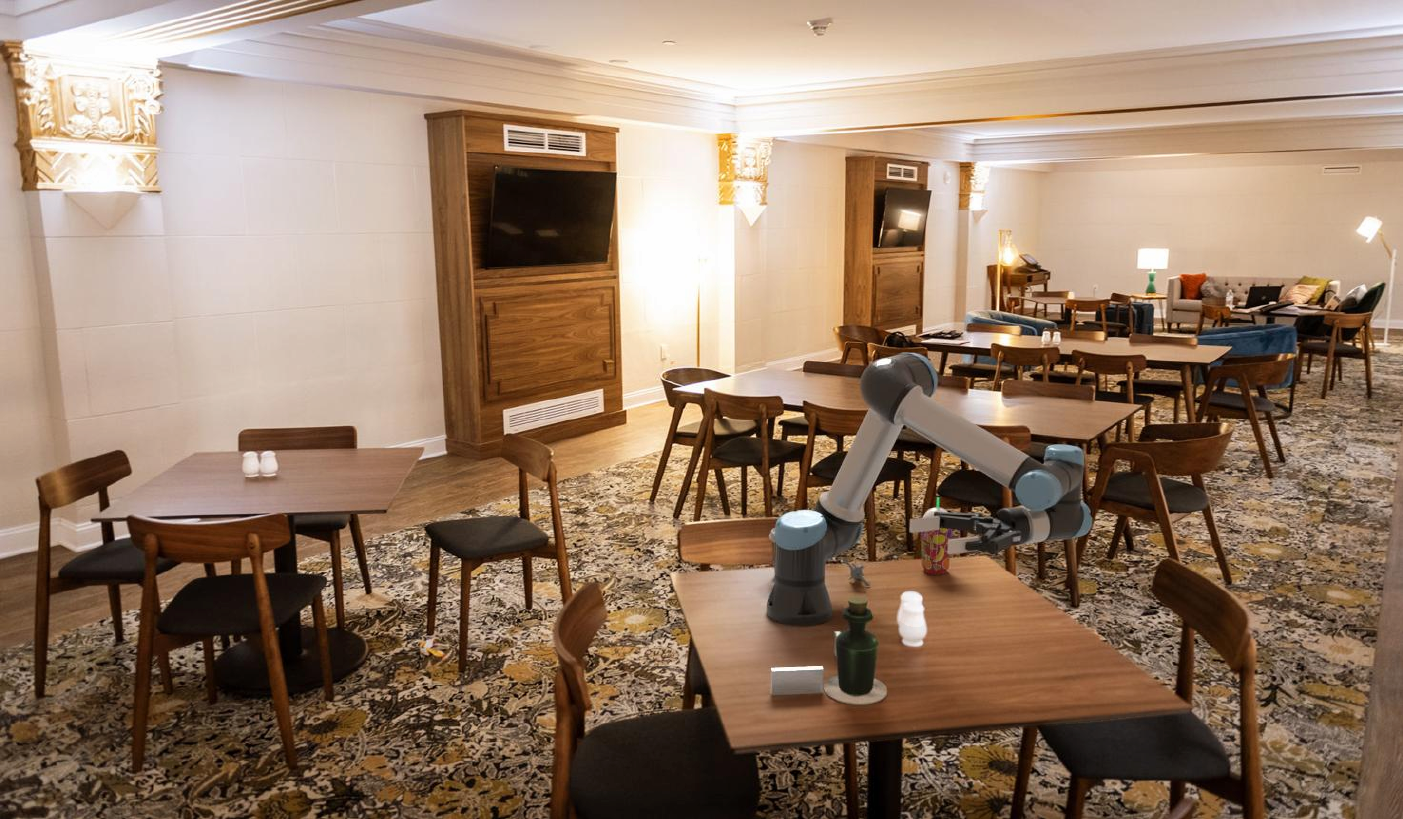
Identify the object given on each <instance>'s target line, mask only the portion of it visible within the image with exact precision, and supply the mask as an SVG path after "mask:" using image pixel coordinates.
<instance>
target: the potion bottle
mask: <svg viewBox="0 0 1403 819" xmlns="http://www.w3.org/2000/svg"><path fill="white" fill-rule="evenodd" d="M868 602H869V600H868V598H866V597H864V596H861V595H855V596H853V595H852V596H849V597H848V598H847V603H848V607H845V608H844V609H843V612H842V613H841V617H842V619H844V620H846V622H847V624H848V627H849V629H846V630H844V631H842V632H841V631H840V632H841V633H840V634H839V635H838V637H837V638H836V654H837V659H836V667H837V676H838V682H839V688H840V689H841V690H842V691H843V692H845V693H848V694H852V695H863V694H867V693H869V692H870V691H871V690H872V688H873V683H874V678H875V673H876V665H877V658H878V657H877V656H878V650H879V649H878V648H879V642H878V640H877V637H876V635H874V633H871V632H870V631H868V630H866V627H867V623H868V622H871V621H872V620H873V618H874V616H873V613H872V610H871V609H870V608H868V607H867V606H868Z"/></svg>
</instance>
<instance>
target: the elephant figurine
mask: <svg viewBox="0 0 1403 819" xmlns="http://www.w3.org/2000/svg"><path fill="white" fill-rule="evenodd" d="M848 559H849V557H847V558H845V557H844V556H842V557H841V560H842V562H843V563H844V564H846V565H847V567H848V568H849V569H850V571H849V574H850V577H849V579H848V581H849V580H850V581H851V580H852V579H854V580H859V579H860V580H861V582H863V584H864V585H865V586H866V587H867V586H871V587H872V585H871V584H870V583H871V581H868V580H866V579H865V578H864V576H865V575H864V572H863V570H864V569H865V568H866V567H867V565H865V566H864V565H863V563H864V562H861V563H860V564H859V565H856V564H855V563H851V564H850V562H849V560H848Z"/></svg>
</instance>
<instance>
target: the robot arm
mask: <svg viewBox="0 0 1403 819" xmlns="http://www.w3.org/2000/svg"><path fill="white" fill-rule="evenodd" d="M938 382H939V378H938V373H937V371H936V368H935V366H934V364H933V363H932V362H931V361H930V359H928V358H927V357H925V356H924V355H922V354H920V353H916V352H901V353H898V354H896V355H892V356H889V357H884V358H878V359H876V360H874V361H873V362H871V363H870V364H868V366H866V368H865V369H864V371H863V372H862V374H861V377H860V380H859V391H860V394H861V395H860V396H861V398H862V399H863V401H864V403H865V404H866V405H867V407H868V410H867V412H866V414H865V417H864V418H863V421H862V423H861V425H860V427H859V429H858V430H857V433H856V435H855V437H854V439H853V441H852V443H851V445H850V446H849V449H848V452H847V453H846V455H845V457H844V459H843V462H842V465H841V466H840V468H839V471H838V472H837V475H836V476H835V478H834V480H833V483H832V484H831V486H830V489H829V490H827V491H824V492H821V493H820V494H819V496H818V499H817V501H816V502H815V505H814V507H813V509H812V510H810V509H809V510H808V509H798V510H796V511H793V510H792V511H789V512H787V513H784V514H782V515H781V516H779V517H778V519H777V520H776V523H775V527H774V528H775V533H774V540H775V572H774V580H773V581H774V582H773V584H772V588H771V590H770V593H769V595H768V599H767V602H766V614H767V615H766V616H767V617H769V619H771V620H772V619H773V620H772V621H774V620H775V621H774V622H776V621H777V623H779V622H780V624H784V625H788V626H796V627H808V626H809V627H811V626H815V625H820V624H822V623H826V622H827V621H829V620H831V618H832V616H833V614H832V613H833V606H832V605H833V604H832V602H831V598H830V596H829V592H828V589H827V585H826V562H828V561H829V560H831V559H834V557H836V556H839V555H840V554H844V553H845V552H847V551H849V550H850V549H852V548H853V547H854V546H855V545H856V544H857V543H858V542H859V540H860V539H861V537H862V534H863V530H864V523H863V520H864V519H865V515H866V514H865V511H864V509H863V508H864V507H863V506H864V505H865V502H866V500H867V499H868V496H869V495H870V493H871V491H872V488H873V486H874V484H875V483H876V481H877V478H878V477H879V474H880V473H881V471H882V468H883V467H884V464H886V461H887V459H888V457H889V455H890V453H891V451H892V449H893V447H894V445H895V443H896V441H897V439H898V437H899V435H900V433H901V431H902V429H903V428H904V426H905V427H907V428H909V429H910V430H911V431H914V432H915V433H917V434H918V435H920V436H921V437H924V438H925V439H926V440H928V441H930V442H932V443H933V444H935V445H937V446H938V447H940V448H942V449H943V450H945V451H946V452H948V453H950V454H951V455H953V456H955V457H956V458H957V459H959V460H961V461H962V462H964V463H966V464H967V465H969V466H971V467H973V468H974V469H976V470H977V471H979V472H981V473H982V474H985V475H986V477H989V478H991V479H992V480H994V481H995V482H997V483H999V484H1001V485H1002V486H1004V487H1006V489H1008V490H1010V491H1011V492H1013V493H1015V496H1016V498H1017V500H1018V502H1019V503H1020V504H1021V506H1018V507H1004V508H1001V509H999V510H998V511H997V512H996V514H995V515H994V516H988V515H987V516H986V515H985V516H983V513H981V512H972V513H969V512H968V513H967V512H950V511H949V512H948V511H947V512H934V516H933V517H924V518H923V517H916V518H910V519H909V533H911V534H913V533H921V532H924V531H933V530H936V531H938V530H939V528H945V529H953V531H954V530H957V531H964V532H969V533H970V534H971V535H974V536H967V537H958V538H952V539H948V551H947V553H948V554H950V555H955V554H956V555H957V554H963V553H972V552H979V551H980V552H983V553H985V552H988V553H989V554H990V555H996V554H998V553H1000V552H1002V551H1004V550H1007V549H1008V548H1010V547H1013V546H1019V545H1023V544H1026V545H1027V544H1028V545H1029V546H1033V544H1034V543H1041V542H1048V541H1049V542H1051V541H1059V540H1060V541H1061V540H1065V541H1066V540H1071V539H1075V538H1080V537H1083V536H1085V535H1087V534H1088V533H1089V532H1090V531H1091V528H1092V526H1093V517H1092V516H1091V509H1090V508H1089V506H1088V505H1087V504H1086V503H1085V502H1083V501H1082V488H1083V477H1084V468H1085V467H1086V466H1085V452H1084V450H1083V449H1082V448H1080V447H1079V446H1074V445H1070V444H1051V445H1048V446H1047V447H1046V449H1045V452H1044V457H1043V460H1044V461H1043V463H1042V462H1040V461H1038V460H1036V459H1034V458H1033V457H1031V456H1030V455H1029V454H1026V453H1025V452H1023V451H1021V450H1019V449H1017V448H1016V447H1015V446H1013V445H1011V444H1009V443H1007V442H1006V441H1004V440H1003V439H1001V438H999V437H997V436H995V435H994V434H993V433H991V432H989V431H987V430H986V429H985V428H982V427H980V426H978V425H977V424H976V423H974V422H972V421H970V420H969V419H967V418H965V417H963V416H962V415H961V414H958V413H957V412H955V411H953V410H951V409H950V408H948V407H946V406H945V405H943V404H942V403H940V402H938V401H937V400H935V399H934V398H933V399H932V397H933V395H934V394H935V393H936V391H937V388H938ZM975 535H976V536H975ZM978 535H979V536H978ZM980 536H981V538H980Z"/></svg>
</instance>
